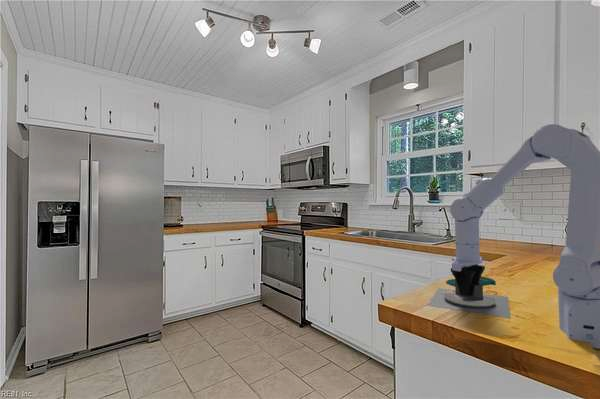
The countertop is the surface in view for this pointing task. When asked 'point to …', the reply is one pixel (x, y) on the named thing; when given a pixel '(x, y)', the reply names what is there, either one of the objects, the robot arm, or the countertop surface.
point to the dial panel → (497, 310)
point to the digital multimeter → (482, 281)
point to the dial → (470, 297)
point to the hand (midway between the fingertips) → (468, 293)
